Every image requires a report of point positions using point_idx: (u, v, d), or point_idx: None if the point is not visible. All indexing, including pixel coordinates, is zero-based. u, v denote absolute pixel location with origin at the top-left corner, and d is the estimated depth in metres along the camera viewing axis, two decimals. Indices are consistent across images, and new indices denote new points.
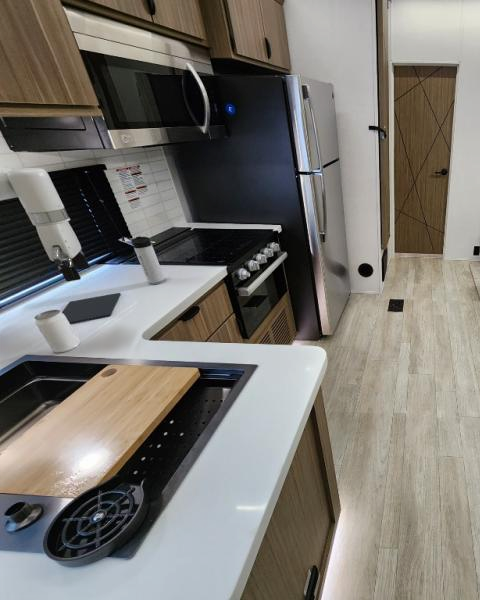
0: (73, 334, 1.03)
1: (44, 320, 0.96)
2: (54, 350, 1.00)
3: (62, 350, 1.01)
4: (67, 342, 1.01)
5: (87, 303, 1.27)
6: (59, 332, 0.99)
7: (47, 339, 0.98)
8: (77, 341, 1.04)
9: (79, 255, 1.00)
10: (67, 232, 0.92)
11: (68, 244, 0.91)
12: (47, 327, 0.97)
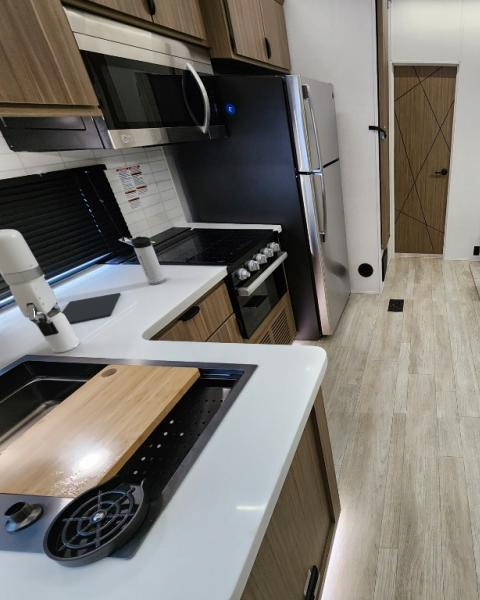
0: (73, 334, 1.03)
1: None
2: (54, 350, 1.00)
3: (62, 350, 1.01)
4: (67, 342, 1.01)
5: (87, 303, 1.27)
6: (59, 332, 0.99)
7: (47, 339, 0.98)
8: (77, 341, 1.04)
9: None
10: (41, 288, 0.94)
11: (42, 300, 0.93)
12: None
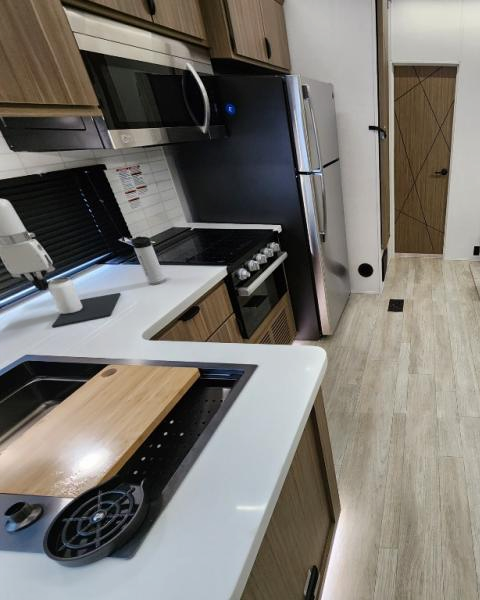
0: (78, 299, 1.21)
1: (56, 284, 1.15)
2: (60, 311, 1.19)
3: (67, 312, 1.19)
4: (72, 305, 1.19)
5: (87, 303, 1.27)
6: (67, 296, 1.17)
7: (56, 301, 1.17)
8: (80, 306, 1.22)
9: (38, 278, 1.14)
10: (12, 254, 1.07)
11: (7, 263, 1.07)
12: (58, 290, 1.15)
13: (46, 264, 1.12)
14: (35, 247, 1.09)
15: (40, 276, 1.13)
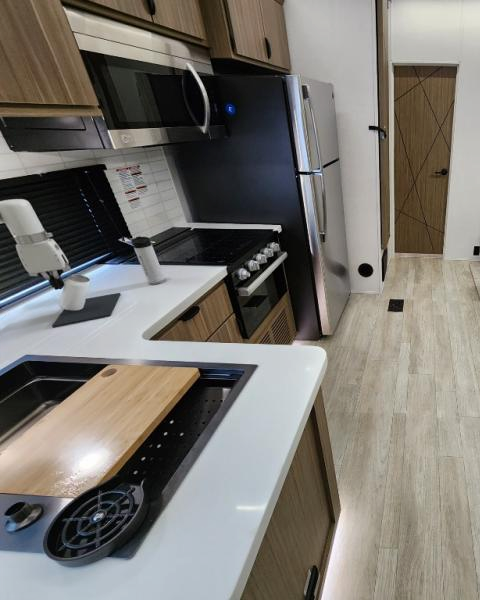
0: None
1: (76, 282, 1.17)
2: (62, 306, 1.18)
3: (69, 308, 1.19)
4: (77, 304, 1.20)
5: (87, 303, 1.27)
6: (78, 295, 1.19)
7: (65, 296, 1.17)
8: (83, 306, 1.23)
9: (54, 277, 1.15)
10: (30, 253, 1.09)
11: (25, 262, 1.09)
12: (74, 288, 1.17)
13: (63, 263, 1.14)
14: (53, 247, 1.11)
15: (56, 275, 1.15)
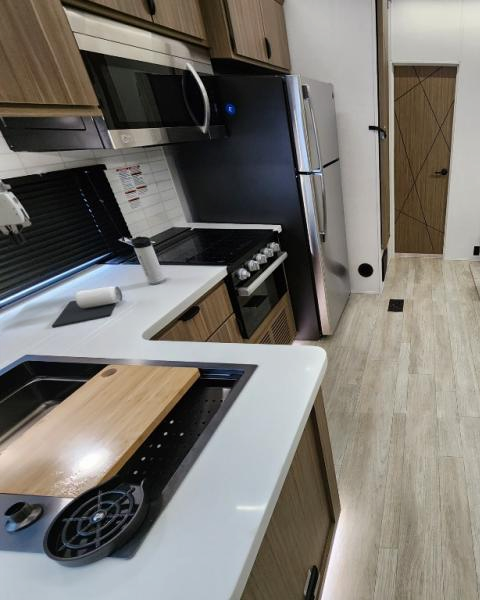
0: None
1: (114, 295, 1.24)
2: (78, 296, 1.20)
3: (78, 301, 1.20)
4: (88, 304, 1.22)
5: None
6: (100, 301, 1.23)
7: (92, 293, 1.22)
8: (86, 307, 1.24)
9: (13, 232, 1.12)
10: None
11: None
12: (107, 296, 1.23)
13: (22, 218, 1.11)
14: (10, 199, 1.08)
15: (16, 230, 1.12)
